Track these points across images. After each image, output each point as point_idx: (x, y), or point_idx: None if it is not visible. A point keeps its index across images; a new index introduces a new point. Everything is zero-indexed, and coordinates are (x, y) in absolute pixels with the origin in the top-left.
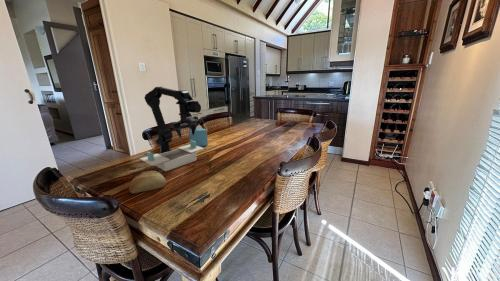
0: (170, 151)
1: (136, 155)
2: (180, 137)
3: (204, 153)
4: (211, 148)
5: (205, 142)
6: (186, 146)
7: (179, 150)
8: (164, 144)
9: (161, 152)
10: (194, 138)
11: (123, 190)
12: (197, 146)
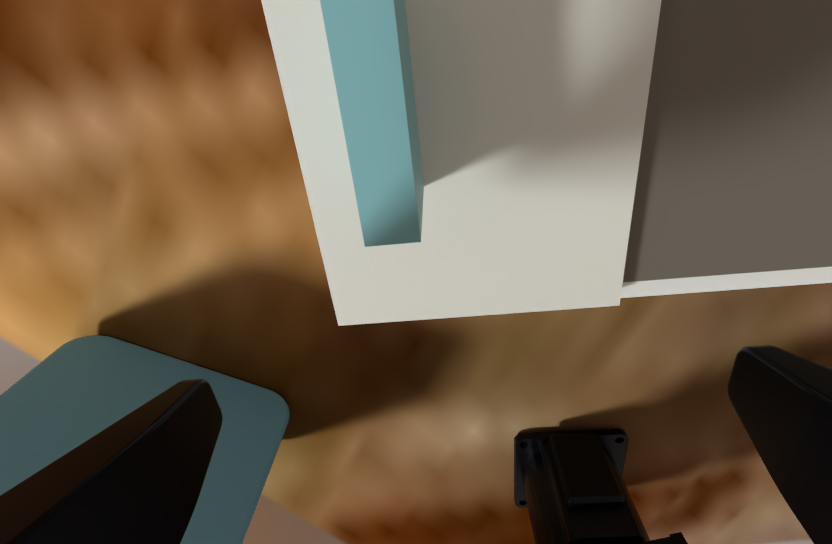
0: (786, 256)
1: (790, 533)
2: (798, 360)
3: (226, 61)
4: (58, 193)
5: (76, 368)
6: (475, 251)
7: (661, 187)
8: (638, 532)
9: (624, 459)
10: None
11: None
12: (299, 68)
